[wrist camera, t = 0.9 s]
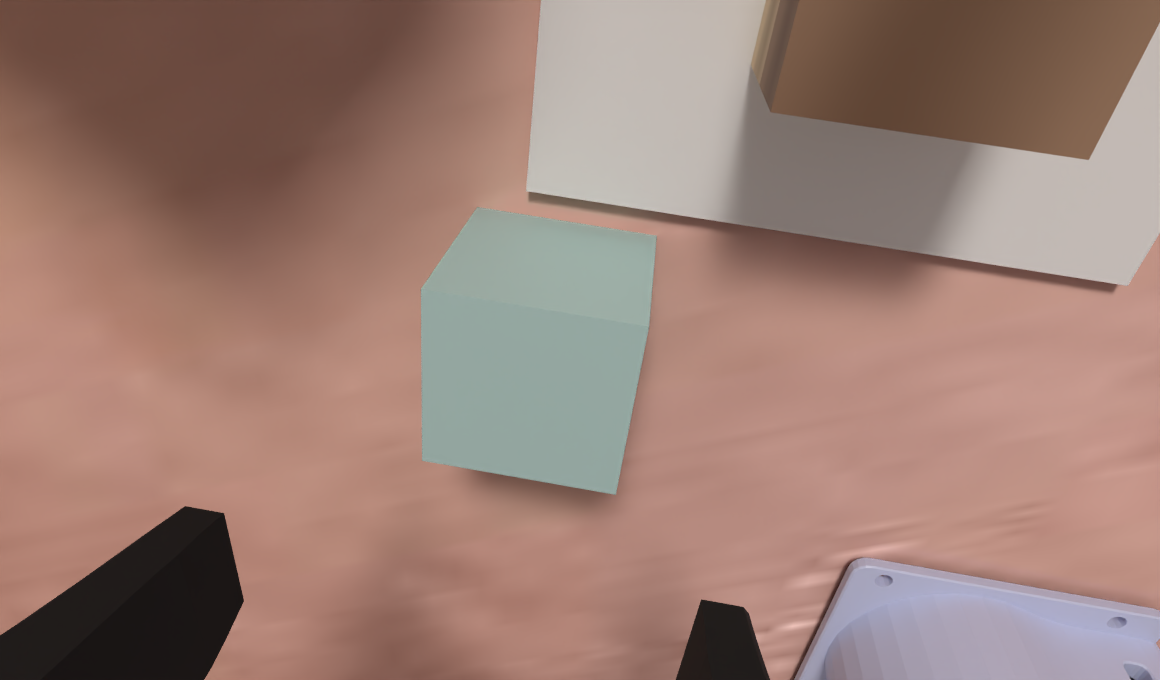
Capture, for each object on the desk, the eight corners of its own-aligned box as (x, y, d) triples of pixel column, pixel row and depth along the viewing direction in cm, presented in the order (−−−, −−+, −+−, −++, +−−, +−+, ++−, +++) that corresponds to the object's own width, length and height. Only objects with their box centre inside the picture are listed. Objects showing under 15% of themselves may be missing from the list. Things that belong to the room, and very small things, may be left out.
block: (656, 234, 17) (649, 326, 14) (628, 381, 20) (615, 494, 16) (478, 206, 18) (421, 288, 14) (472, 354, 20) (422, 460, 16)
